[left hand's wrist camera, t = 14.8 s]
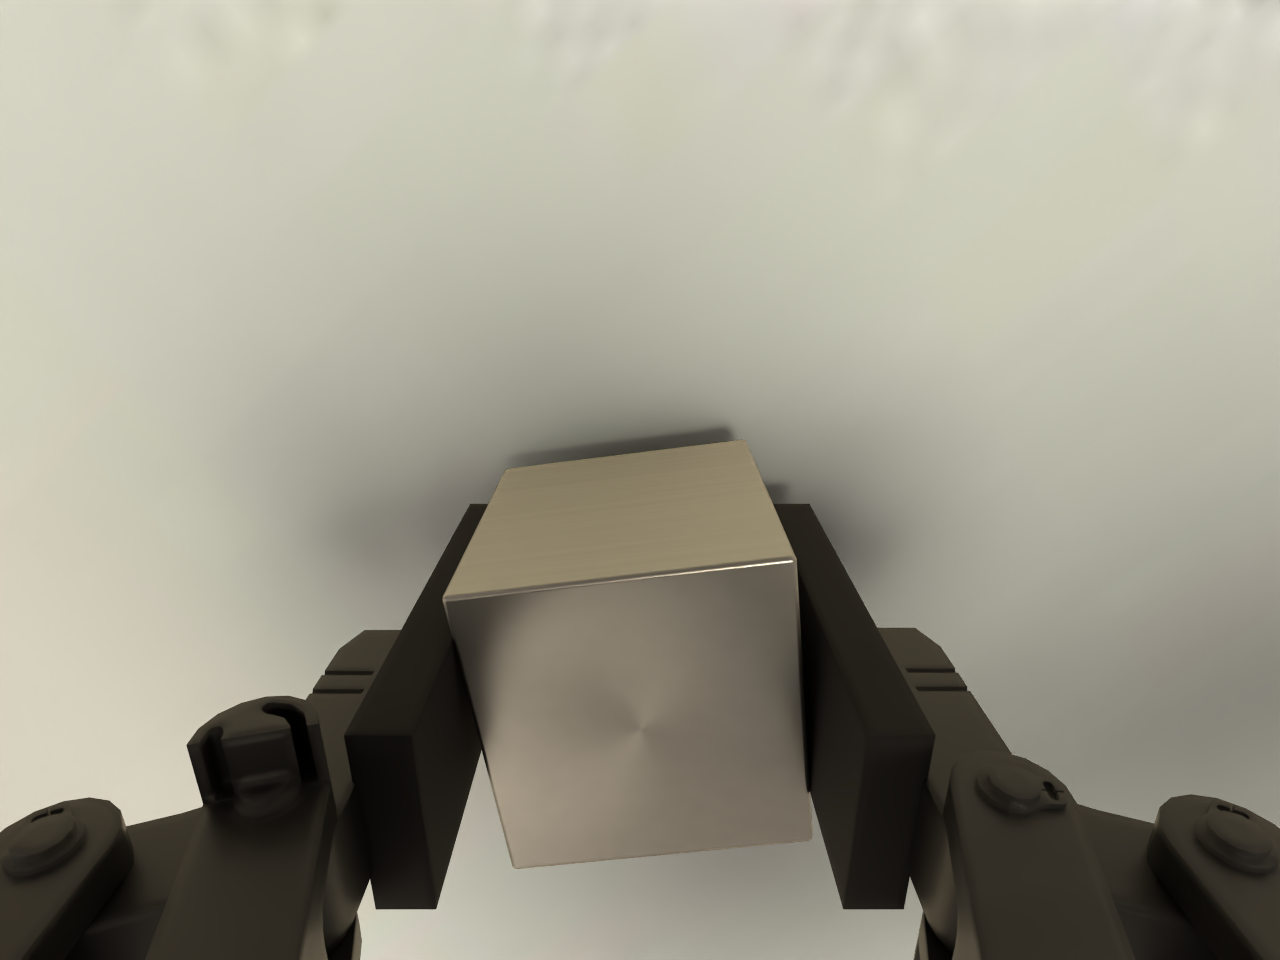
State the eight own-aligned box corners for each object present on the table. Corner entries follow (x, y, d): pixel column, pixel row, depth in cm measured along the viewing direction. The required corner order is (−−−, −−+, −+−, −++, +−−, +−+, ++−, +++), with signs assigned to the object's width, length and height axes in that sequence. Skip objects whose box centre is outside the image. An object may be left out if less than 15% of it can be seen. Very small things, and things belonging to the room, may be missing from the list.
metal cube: (745, 437, 14) (797, 557, 9) (763, 653, 16) (813, 842, 11) (504, 467, 14) (439, 597, 10) (549, 677, 16) (512, 871, 11)
